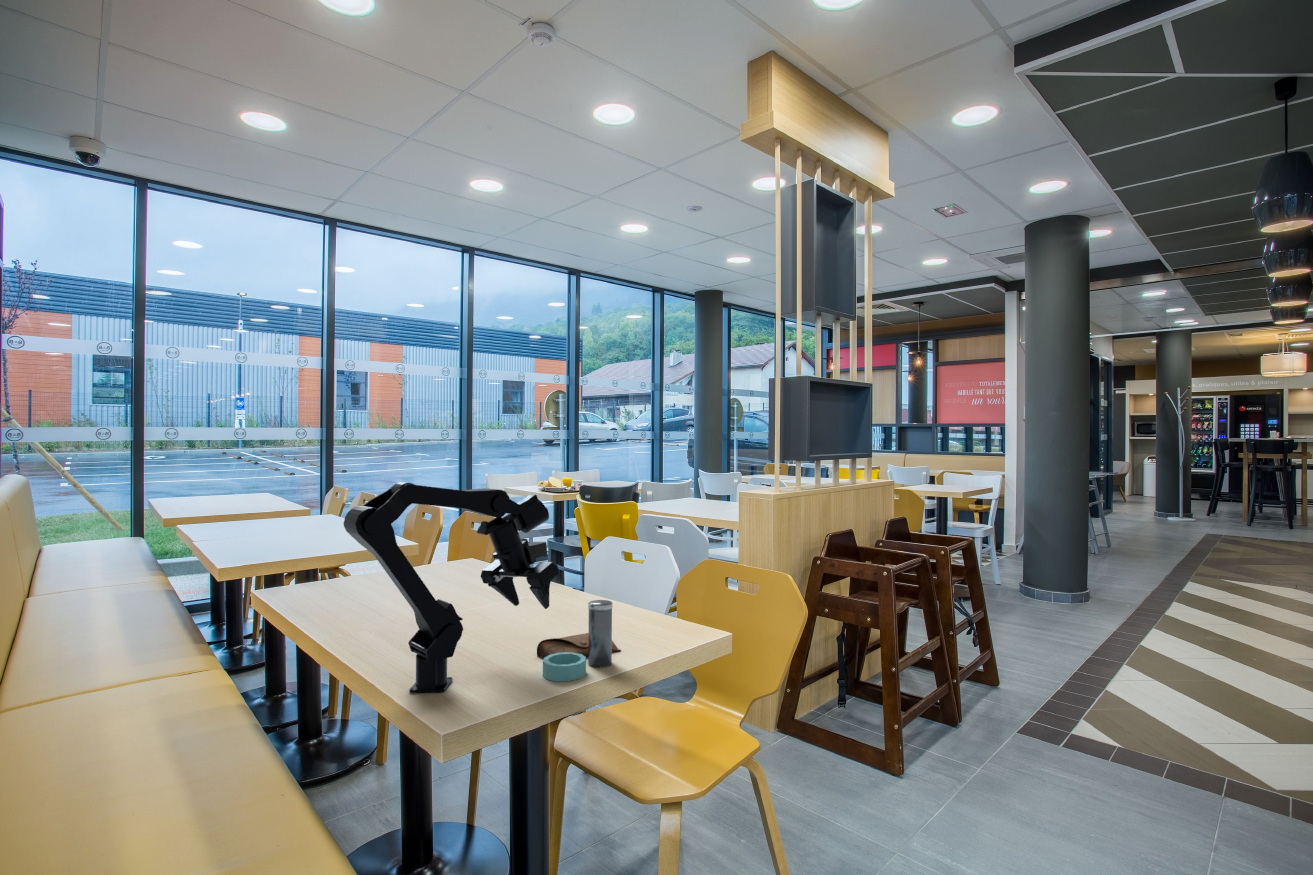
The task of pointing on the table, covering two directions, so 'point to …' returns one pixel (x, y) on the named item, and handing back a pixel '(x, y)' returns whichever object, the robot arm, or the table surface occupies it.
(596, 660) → the cylinder
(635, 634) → the table surface
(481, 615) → the table surface
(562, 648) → the sunglasses case
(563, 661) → the ring
